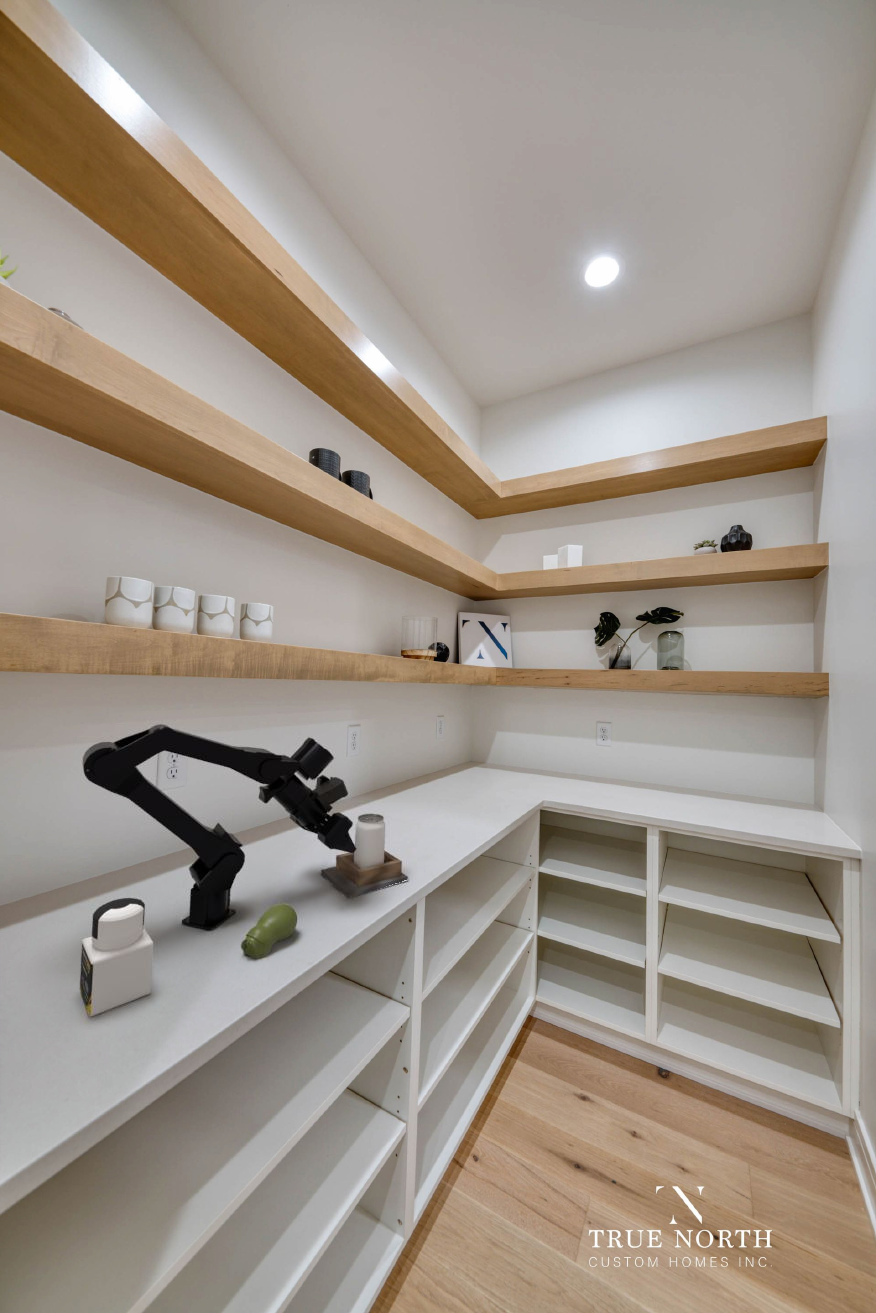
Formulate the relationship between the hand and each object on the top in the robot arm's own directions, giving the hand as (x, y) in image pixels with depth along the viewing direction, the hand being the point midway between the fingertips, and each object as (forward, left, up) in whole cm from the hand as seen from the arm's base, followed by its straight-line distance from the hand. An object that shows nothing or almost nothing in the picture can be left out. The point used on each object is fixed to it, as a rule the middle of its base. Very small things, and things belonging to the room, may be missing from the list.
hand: (344, 844), depth 103 cm
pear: (-24, +1, -9) cm, 26 cm away
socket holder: (+5, -4, -8) cm, 10 cm away
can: (+5, -4, -7) cm, 10 cm away
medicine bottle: (-41, +13, -8) cm, 44 cm away
